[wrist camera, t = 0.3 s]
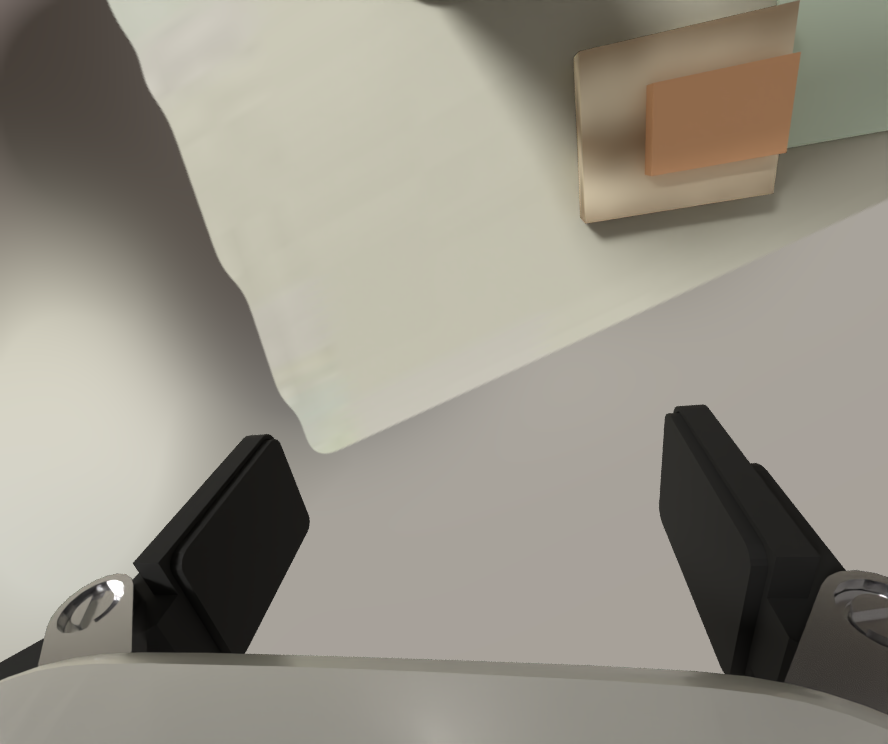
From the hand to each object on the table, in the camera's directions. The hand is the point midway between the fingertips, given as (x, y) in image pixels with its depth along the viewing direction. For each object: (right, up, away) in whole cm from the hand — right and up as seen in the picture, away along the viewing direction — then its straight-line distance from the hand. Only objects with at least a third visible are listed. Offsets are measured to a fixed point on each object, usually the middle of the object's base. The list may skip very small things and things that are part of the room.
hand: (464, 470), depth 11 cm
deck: (+17, +22, +25) cm, 38 cm away
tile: (+19, +21, +22) cm, 36 cm away
